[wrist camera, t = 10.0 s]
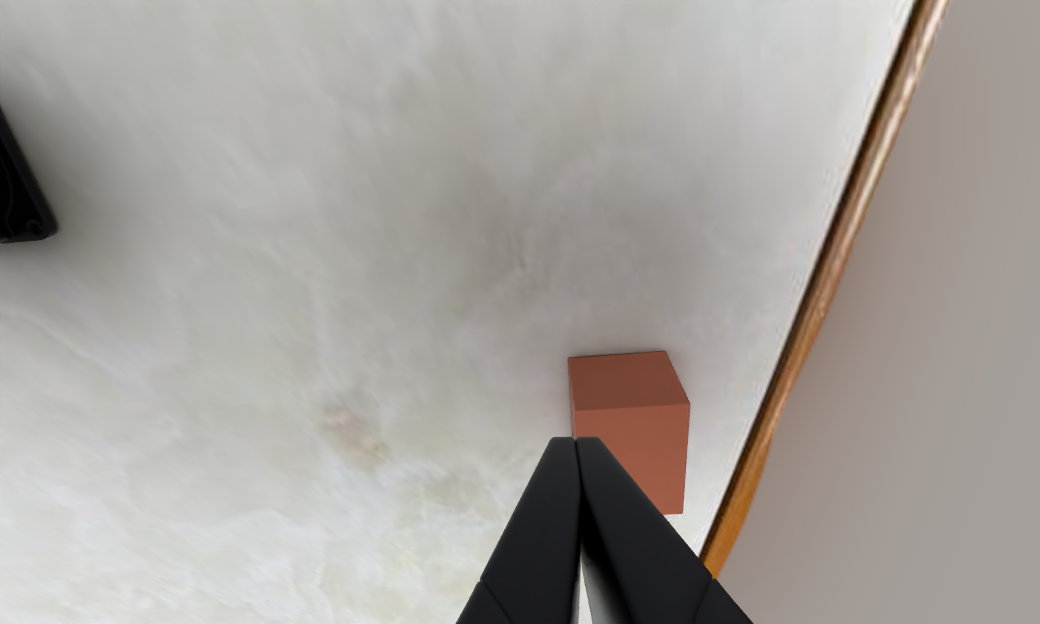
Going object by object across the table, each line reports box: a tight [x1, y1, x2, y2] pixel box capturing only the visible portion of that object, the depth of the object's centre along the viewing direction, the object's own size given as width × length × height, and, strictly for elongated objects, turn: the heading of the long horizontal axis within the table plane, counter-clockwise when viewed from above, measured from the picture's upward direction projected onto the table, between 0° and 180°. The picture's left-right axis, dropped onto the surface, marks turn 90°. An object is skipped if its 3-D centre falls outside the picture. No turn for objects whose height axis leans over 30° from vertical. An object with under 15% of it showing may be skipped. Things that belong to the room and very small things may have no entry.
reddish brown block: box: [568, 351, 690, 515], centre depth 23 cm, size 6×4×4 cm
